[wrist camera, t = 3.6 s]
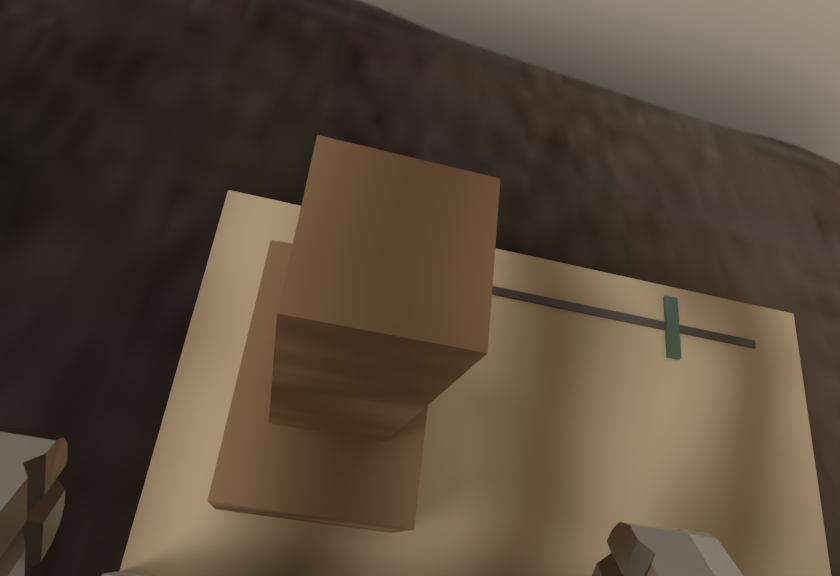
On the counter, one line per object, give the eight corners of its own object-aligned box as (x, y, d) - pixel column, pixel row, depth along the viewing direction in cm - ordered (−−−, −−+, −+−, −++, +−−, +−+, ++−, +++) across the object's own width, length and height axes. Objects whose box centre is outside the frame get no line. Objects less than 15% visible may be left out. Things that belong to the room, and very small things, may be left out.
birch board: (116, 617, 17) (84, 631, 14) (230, 211, 22) (225, 156, 19) (810, 689, 21) (909, 714, 18) (765, 325, 26) (835, 295, 23)
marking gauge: (215, 509, 17) (157, 451, 7) (272, 265, 20) (286, -3, 11) (391, 533, 18) (549, 509, 8) (420, 294, 21) (560, 72, 11)
